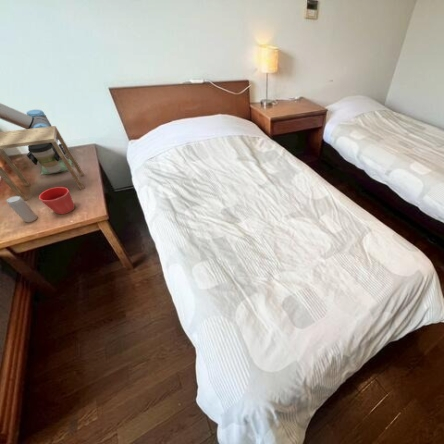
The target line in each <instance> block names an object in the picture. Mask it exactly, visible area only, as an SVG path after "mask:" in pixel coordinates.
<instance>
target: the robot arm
mask: <svg viewBox="0 0 444 444" xmlns="http://www.w3.org/2000/svg"><path fill="white" fill-rule="evenodd" d="M0 120H2V121H5V122H7V123H10V124H11V125H15V126H17V127H20V128H23V129H33V128H42V127H51V126H52V123H51V122H50V120H49V119H48V117H47V115H46V114H45V112H44V111H43V110H41V109H31V110H28V111H26V113H24V112H22V111H19V110H18V109H15V108H13V107H10V106H8V105H6V104H4V103H1V102H0ZM56 142H57V144H58V145H59V147H60V148H61V150H62V152H63V153H64V155H67V153H66V151H65V150H64V148H63V146H62V145H61V143H59V140H58V138H57V136H56ZM49 144H50V145H51V146H52V149H53V151H54V153H55V155H54V157H55V159H56V161H59V160H60V158H61V157H60V156H59V154H58V152H57V151H56V149H55V148H54V146H53V144H52V143H49ZM26 157H27V158H28V159H29V160H31V162H32V163H33V165H35V166H37V165H38V162H39V161H38V160H37V159H36V158H35V157H34V155H33V154H32V153H31V152H29V151H28V153H27V154H26Z"/></svg>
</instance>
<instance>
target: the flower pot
mask: <svg viewBox="0 0 444 444" xmlns="http://www.w3.org/2000/svg"><path fill="white" fill-rule="evenodd" d="M38 199H39V201H41V202H42V203H43V205H45V206H46V207H47V208H48V209H50V210H51V211H52V212H54V213H55V214H57V215H64V214H68V213H70V212H72V211H73V210H74V209H75V204H74V201H73V197H72V195H71V192H70V190H69V189H68V188H67V187H64V186H57V187H51V188H48V189H46V190H44V191H42V192H41V193H40V194H39V196H38Z"/></svg>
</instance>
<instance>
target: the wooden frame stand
mask: <svg viewBox="0 0 444 444" xmlns="http://www.w3.org/2000/svg"><path fill="white" fill-rule="evenodd" d="M56 136H57V138H58V142H59V143H58V144H57V142H56ZM44 143H52V144H53V146H54V148H55V149H56V151H57V152H58V154H59V156H60V157H59V158H60V160H63V162H64V164H65V165H66V167H67V168H68V172H69V173H70V175H71V176H72V178H73V180H74V181H75V183H76V184H77V186H78V187H79V189H80V190H84V189H85V186H84V185H83V182H82V181H81V179H80V178H79V176H80V177H84V175H85V174H84V172H83V171H82V169H81V167H80V165H79V164H78V162H77V160H76V158H75V157H74V155H73V153H72V152H71V150H70V148H69V146H68V144H67V143H66V142H65V140H64V138H63V136H62V134H61V133H60V131H59V129H58V128H57V126H56V125H51V127H42V128H33V129H25V128H23V129H17V130H16V129H15V130H5V131H0V157H2V159H3V161H5V163H6V164H7V165H8V166H9V167H10V169H11V170H12V171H13V172H14V174H15V175H16V176H17V177H18V178H19V180H20V181H21V182H22V184H23V185H24V186H25V187H30V186H31V183H30V181H28V180H27V178H26V177H25V176H24V175H23V173H22V172H21V170H20V169H19V168H18V167H17V166H16V164H15V163H14V161H12V159H11V158H10V157H9V156H8V154H7V153H6V152H5V151H4V150H5V149H12V148H20V147H28V146H29V145H36V144H44ZM59 144H61V145H62V146H63V148H64V149H63V150H64V151H65V153H66V154H64V153H63V152H62V150H61V148H60V147H59ZM66 155H67V157H68V158H67V157H66ZM67 159H70V160H71V161H72V166H71V165H70V163H69V162H68V160H67ZM73 166H74V168H75V170H76V171H77V173H78V174H77V173H76V171H75V170H74V168H73ZM78 175H79V176H78ZM0 177H1V178H2V180H3V181H4V182H5V183H6V184H7V186H9V188H10V189H11V190H12V191H13V192H14V193H15V196H20V197H21V198H22V199H23V200H24V201H25V202H26V201H27V200H28V199H27V197H26V196H25V195H24V193H23V192H22V191H21V190H20V189H19V188H18V187H17V185H16V184H15V183H14V182H13V180H12V179H11V178H10V177H9V176H8V175H7V174H6V172H5V171H4V170H3V168H2V167H1V166H0Z"/></svg>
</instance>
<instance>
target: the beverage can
mask: <svg viewBox="0 0 444 444" xmlns="http://www.w3.org/2000/svg"><path fill="white" fill-rule="evenodd" d="M6 203H7V204H8V205H9V207H10V208H11V209H12V210H13V211H14V212H15V213H16V215H18V216H19V218H20V219H21V220H22V221H23V222H25V223H32V222H34V221H36V220H37V219H38V215H37V214H36V213H35V212H34V211H33V209H32V208H31V207H30V205H28V204H27V202H26V201H24V200H23V199H22V198H21V197H20V196H17V195H14V196H10V197H8V198H7V199H6Z"/></svg>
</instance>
